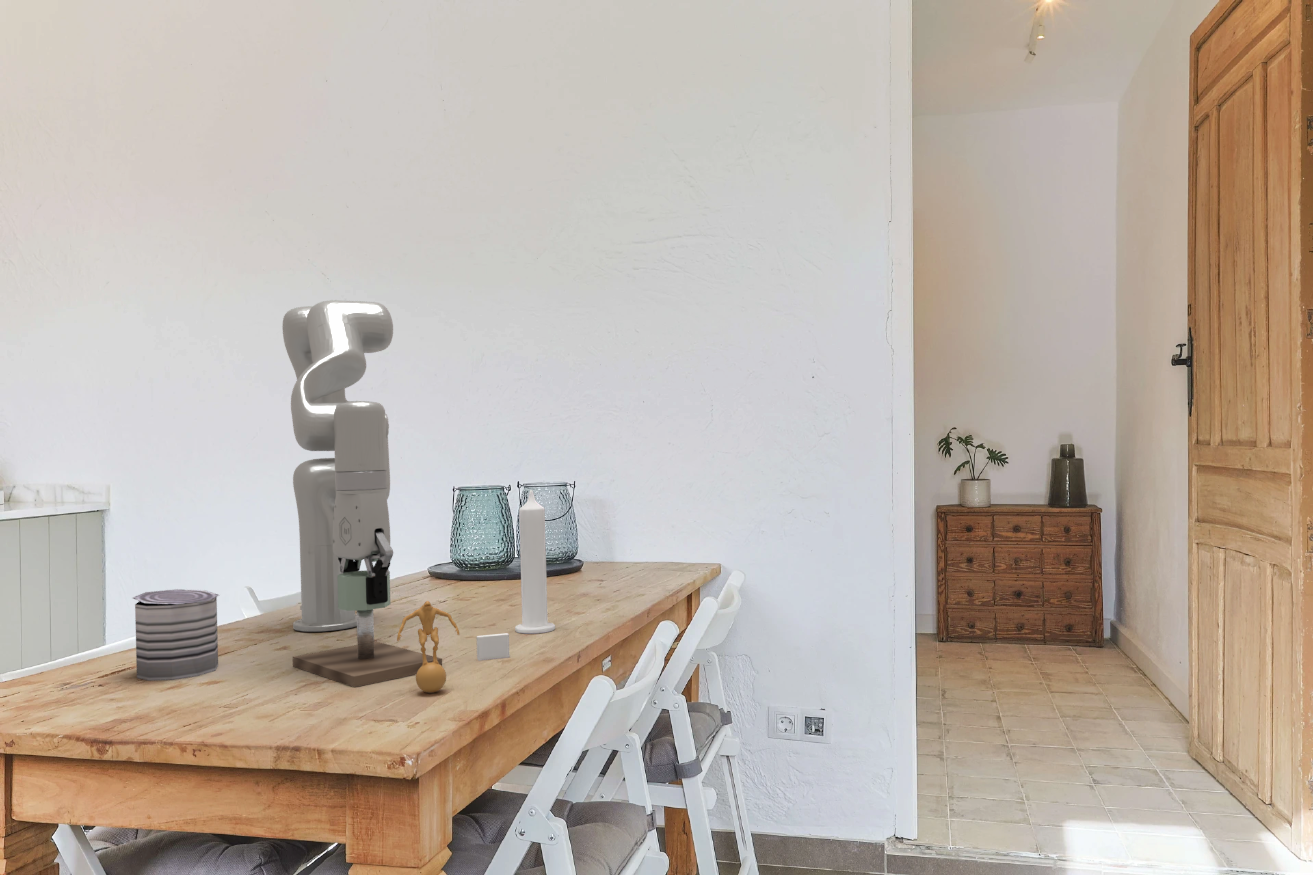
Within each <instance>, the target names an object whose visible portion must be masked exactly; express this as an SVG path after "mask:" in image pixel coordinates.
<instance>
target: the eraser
mask: <svg viewBox="0 0 1313 875" xmlns="http://www.w3.org/2000/svg"><path fill="white" fill-rule="evenodd" d="M510 656H511V655H510V634H509V633H508V632H506V633H496V634H485V635H483V634H482V635H476V659H477V660H478V661H479V662H480V661H487V660H488V661H489V660H497V659H508V658H511V657H510Z"/></svg>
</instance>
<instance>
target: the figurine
mask: <svg viewBox="0 0 1313 875" xmlns="http://www.w3.org/2000/svg"><path fill="white" fill-rule="evenodd" d="M437 615H438V616H442V617H446V618H448V621H449V622H450V623H451V625H452V626H453V628H454V629H455V632H456V635H457V636H460V629H459V627H458V626H457V623H456V622H455V621H454V619H453V618H452V615H451V614H450V613H449V612H446V611H445V610H444V611H443V610H441V609H439V608H438V607H434V606H432V604H431V602H430V601H429V600H426V601H425V602H424V603H423V604H422V605H421V606H420V607H419V608H418V609H416V610H414V611H413V612H411V613H410V614H408V615H406V616H405V617H403V619H402V621H401V625H400V627H399V630H398V632H397V635H396V640H397V642H399V641H401V638H402V637H403V636H402V632H403V630H404V628H405V625H406V623H407V621H409V620H411V619H414V618H416V617H418V619H419V620H420V624H421V626H422V628H419V629H418V630H417V634H418V642H419V644H420V646H421V647H420V653H422V657H423V664H422V666H421V667H420V668H419V670H418V671H417V674H415V682H416V685H417V687H418V688H419V690H421V691H423V692H424V693H428V694H431V693H436V692H439V691H440V690H441V689H442V688H443V687H444V686H445V683H446V681H447V672H446V670H445V668H444V667H443V665H442V666H441V665H440V664H439V663H438V661H437V657H438V656H437V655H438V654H437V651H438V650H439V645H440V644H439V643H440V641H439V640H440V638H439V628H438V627H437V626H435V627H433V626H434V622H435V619H436V616H437ZM428 636H430V640H431V641H432V642H433V644H434V645H433V647H432V656H433V662H430V663H428V662H427V659H426V655H427V653H426V650H427V648H426V642H427V640H428Z"/></svg>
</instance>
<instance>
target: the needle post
mask: <svg viewBox="0 0 1313 875" xmlns="http://www.w3.org/2000/svg"><path fill="white" fill-rule="evenodd" d="M356 615H357V626H356V632H357V633H356V634H357V635H356V636H357V638H356V639H357V645H358V659H371V658H374V642H375V633H374V632H375V630H374V629H375V628H374V624H375V622H374V609H372V610H357V611H356Z"/></svg>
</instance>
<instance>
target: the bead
mask: <svg viewBox="0 0 1313 875" xmlns="http://www.w3.org/2000/svg"><path fill="white" fill-rule="evenodd" d="M390 573H391V572H390V571H389V574H388V576H387V587H388V601H387V602H385V603H379V604H372V605H369V604H367V603H366V578H367V577H369V576H368V572H367V569H366V570H359V571H354V572H346V573H342V574H340V575H337V576H338V609H342V610H346V611H355V612H357V610H372V609H373V610H378V609H383V608H386V607H388V606H390V605H391V575H390Z"/></svg>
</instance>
